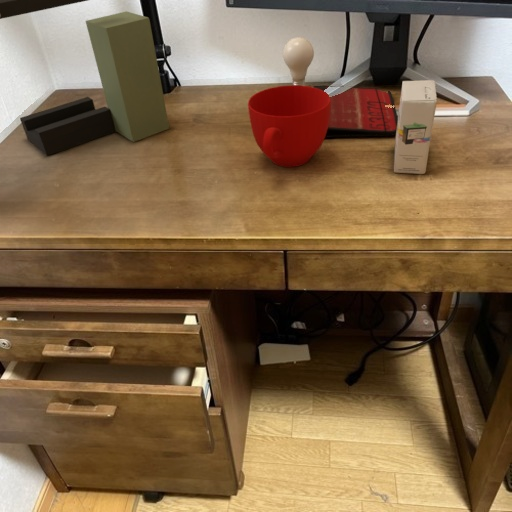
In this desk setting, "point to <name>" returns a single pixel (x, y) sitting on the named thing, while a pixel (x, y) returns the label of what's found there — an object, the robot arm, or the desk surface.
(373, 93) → the binder
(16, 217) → the desk surface
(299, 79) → the lightbulb
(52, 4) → the pad strip
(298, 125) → the ceramic cup
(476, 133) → the desk surface
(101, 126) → the dock pad
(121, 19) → the stand
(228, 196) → the desk surface
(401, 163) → the ink box
